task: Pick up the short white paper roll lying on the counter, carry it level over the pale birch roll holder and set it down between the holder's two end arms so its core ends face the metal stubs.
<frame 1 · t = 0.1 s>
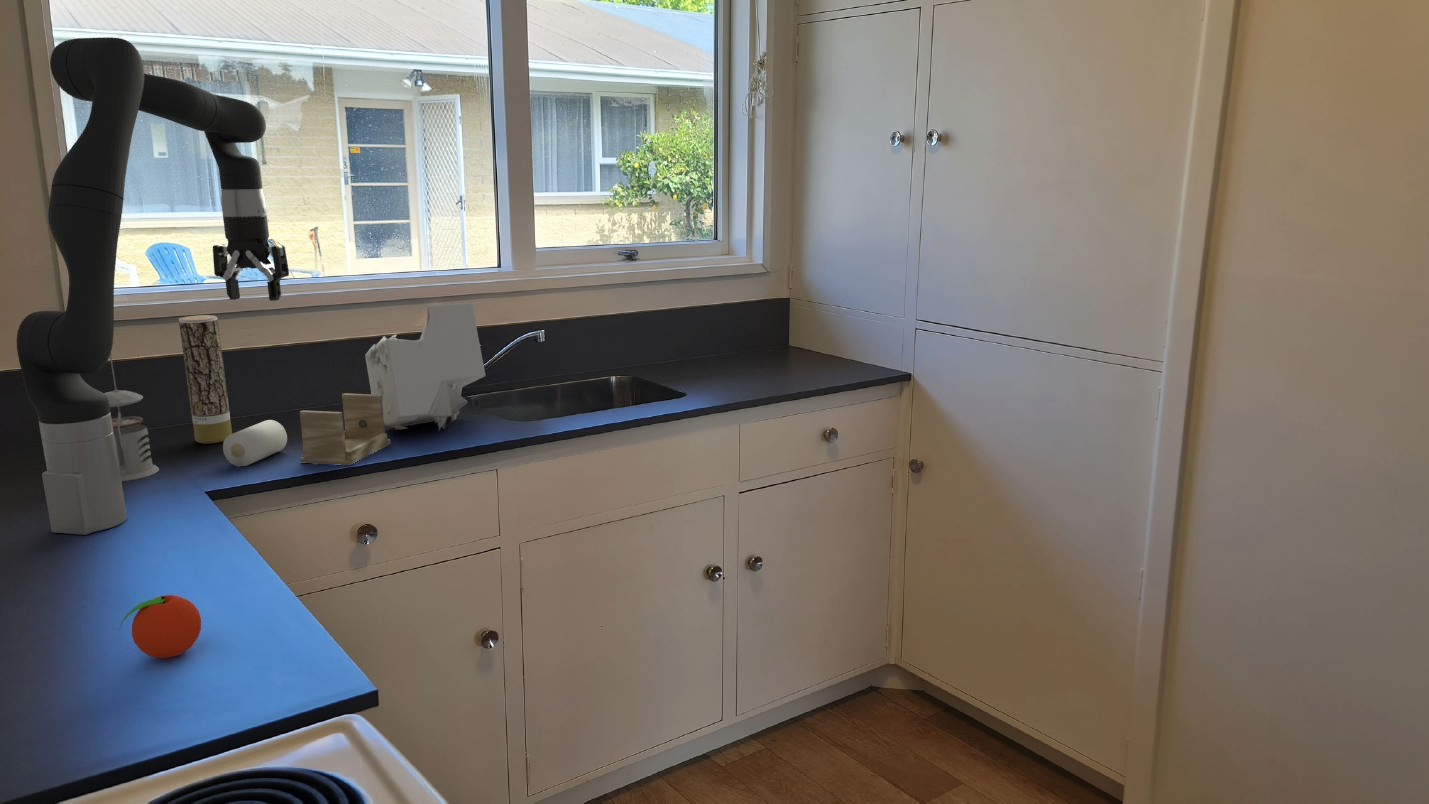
hand: (254, 299, 189), 29 cm above the counter, tool pointing down, fingers open, 8 cm apart
white jagged block: (426, 427, 209), on the counter
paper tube: (214, 441, 199), on the counter
roll: (257, 459, 187), on the counter
clementine: (166, 657, 112), on the counter
french press: (127, 475, 178), on the counter
holder: (347, 453, 189), on the counter
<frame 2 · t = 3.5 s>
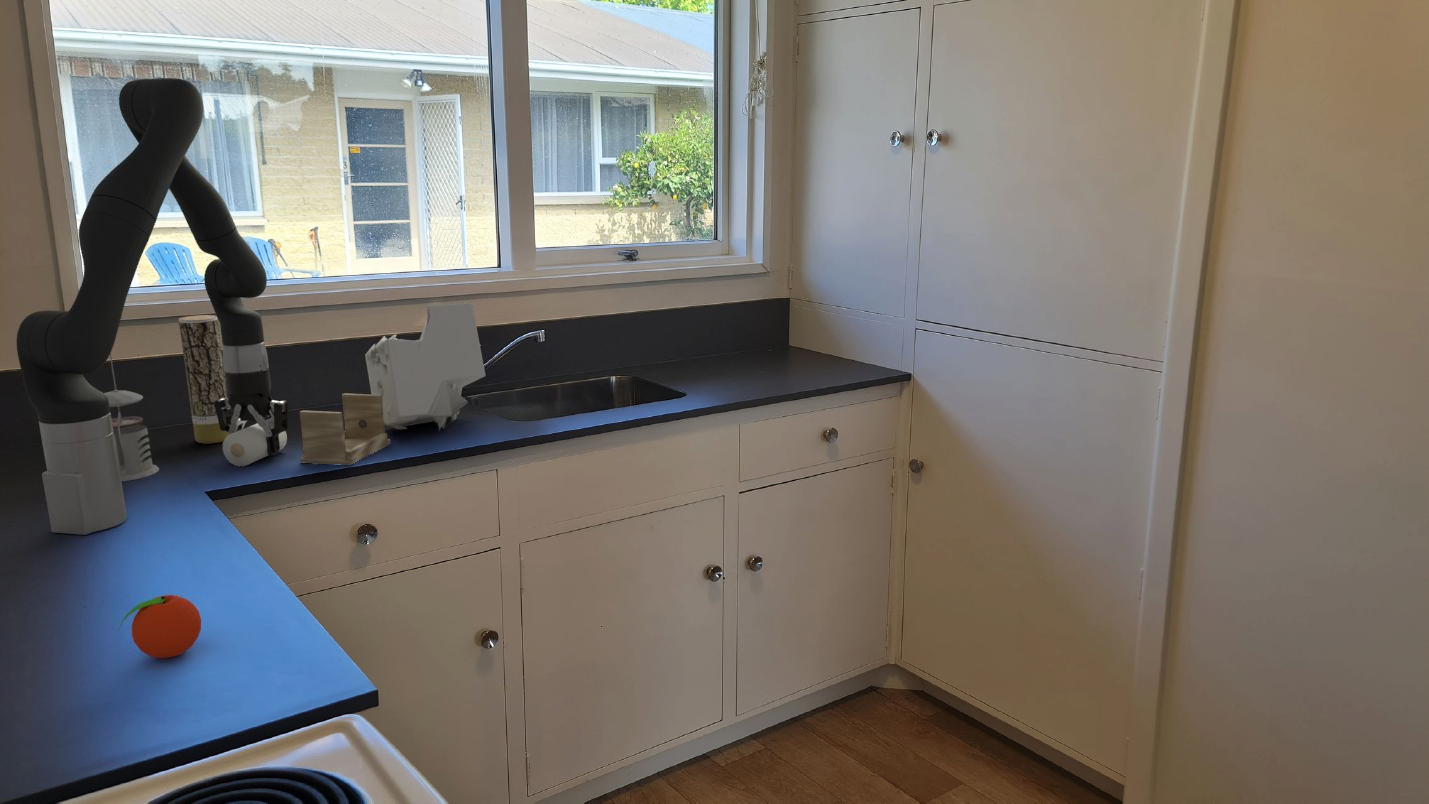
hand: (257, 453, 186), 1 cm above the counter, tool pointing down, fingers closed on roll, 6 cm apart
roll: (257, 458, 187), on the counter, touching gripper
everything else where it was.
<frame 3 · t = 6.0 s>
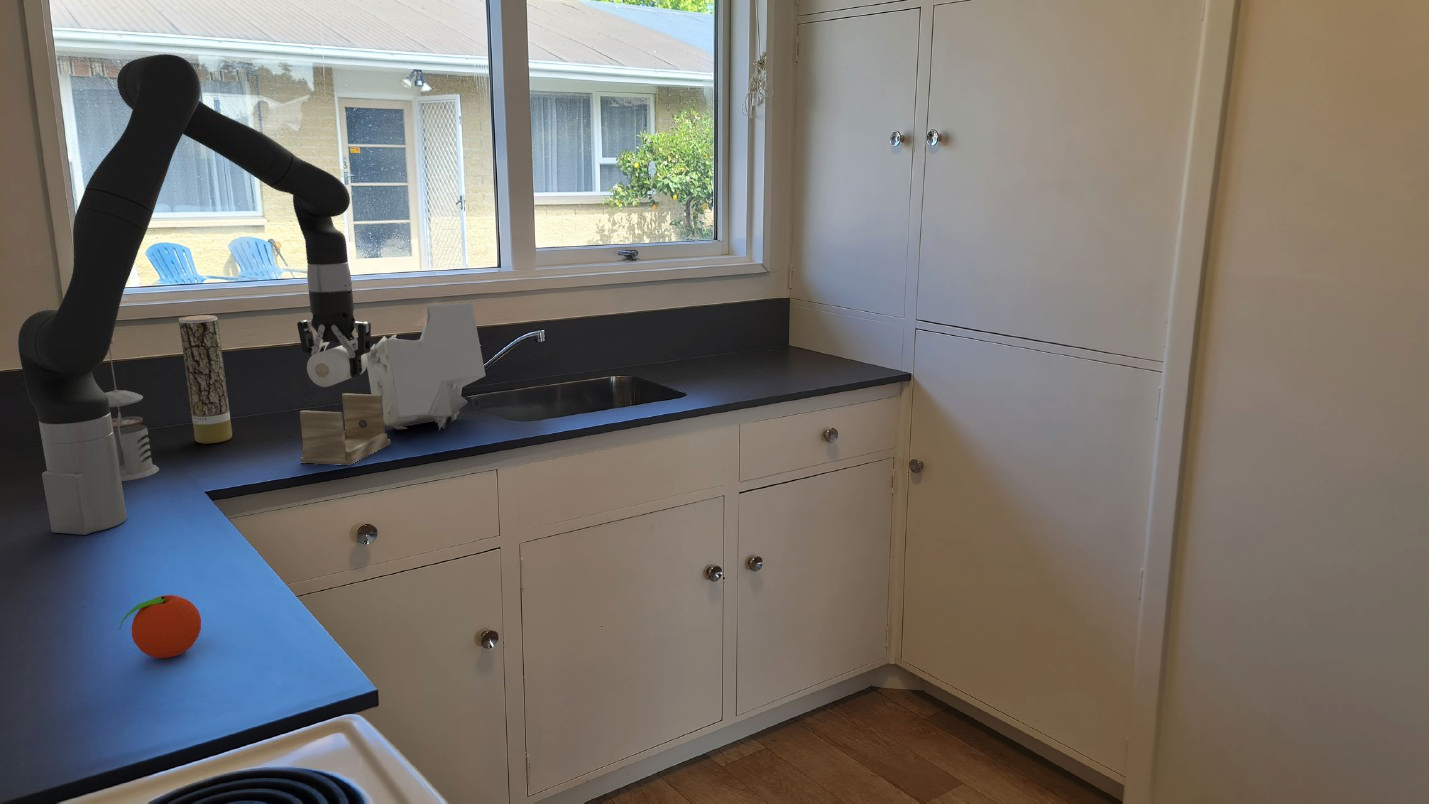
hand: (339, 375, 186), 15 cm above the counter, tool pointing down, fingers closed on roll, 6 cm apart
roll: (339, 381, 186), point 14 cm above the counter, touching gripper
everything else where it was.
when the fingers open (4 cm above the counter, at t = 9.0 s): roll drops 2 cm, resting on holder.
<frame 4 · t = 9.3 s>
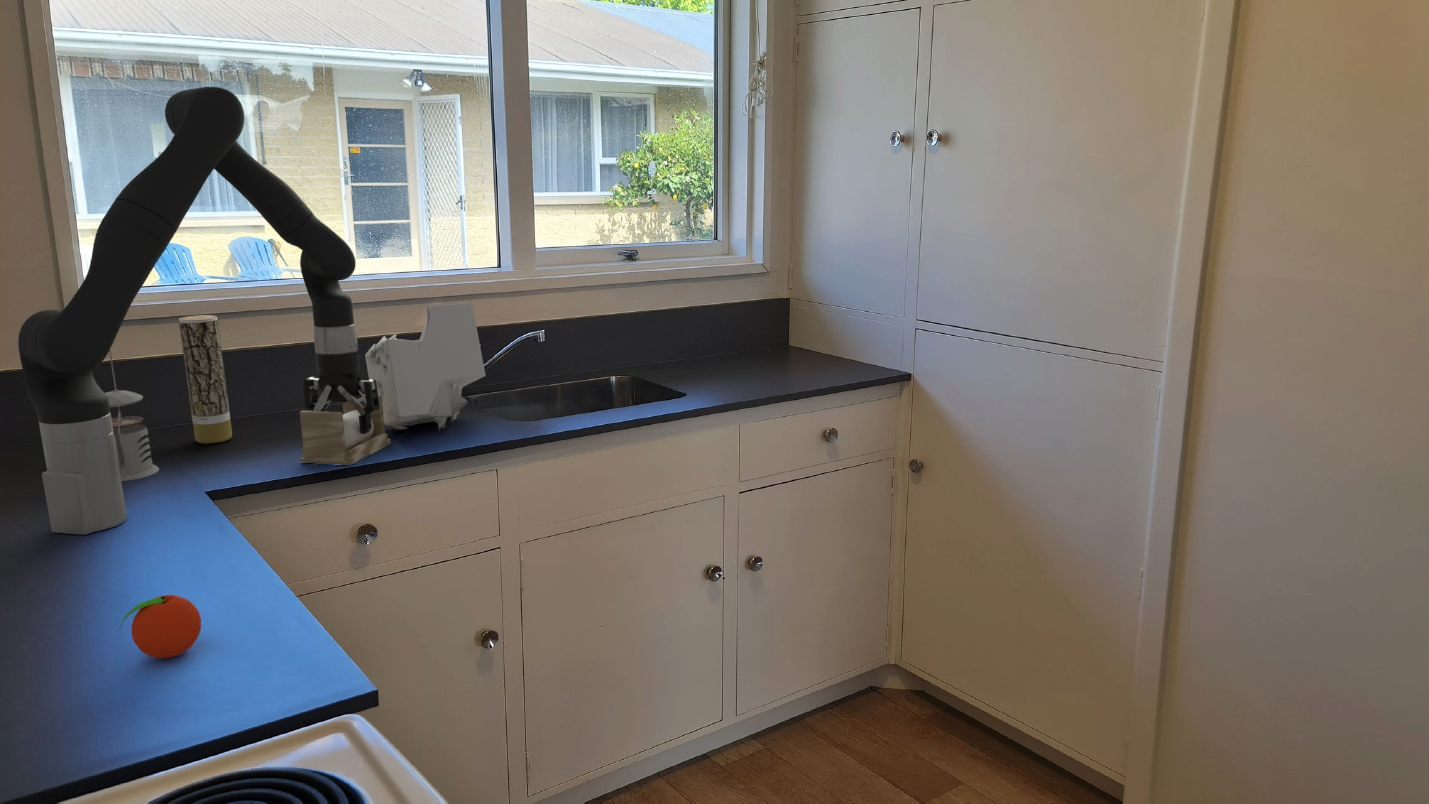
hand: (344, 431, 188), 4 cm above the counter, tool pointing down, fingers open, 8 cm apart
roll: (346, 448, 189), point 1 cm above the counter, touching holder
everything else where it was.
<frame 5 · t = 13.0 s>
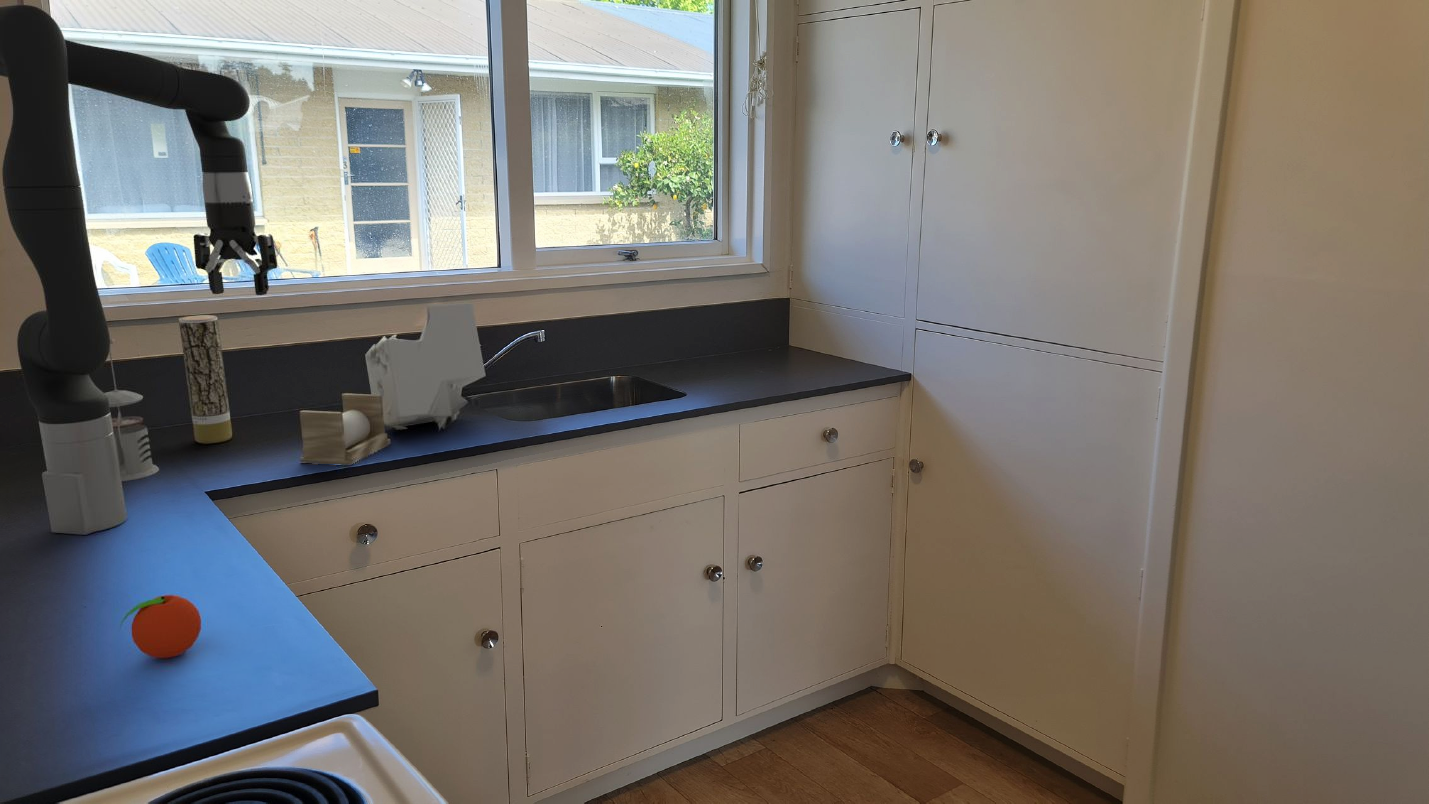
hand: (240, 294, 172), 32 cm above the counter, tool pointing down, fingers open, 8 cm apart
roll: (346, 447, 189), point 1 cm above the counter, tilted 16°, touching holder
everything else where it was.
at the end: roll 0.0 cm off-centre on the holder, point 1.1 cm above the holder's base; roll touching holder; the gripper is holding nothing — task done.
